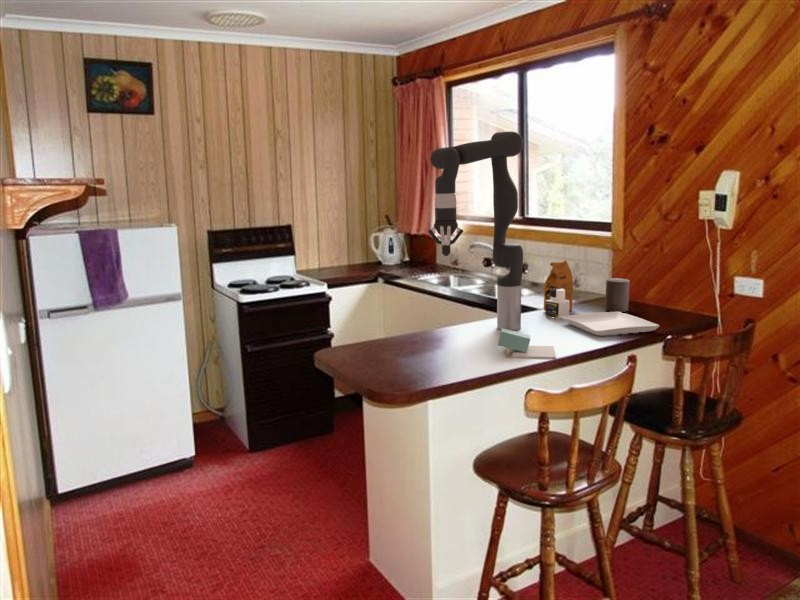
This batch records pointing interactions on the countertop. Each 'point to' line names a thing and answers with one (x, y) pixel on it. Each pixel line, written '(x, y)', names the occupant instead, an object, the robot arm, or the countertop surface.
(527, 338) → the teal block
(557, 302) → the medicine bottle
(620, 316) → the square plate
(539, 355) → the mat
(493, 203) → the robot arm
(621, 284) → the pillar candle
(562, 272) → the coffee package
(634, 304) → the countertop surface
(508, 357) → the rail
